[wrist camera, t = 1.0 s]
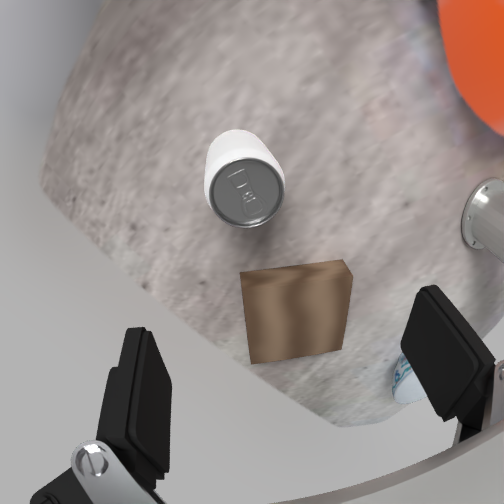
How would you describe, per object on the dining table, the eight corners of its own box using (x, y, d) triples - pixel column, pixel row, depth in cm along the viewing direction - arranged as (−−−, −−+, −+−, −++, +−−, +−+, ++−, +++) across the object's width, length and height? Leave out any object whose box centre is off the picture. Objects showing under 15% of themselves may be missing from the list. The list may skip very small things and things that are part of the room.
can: (224, 194, 35) (228, 246, 25) (196, 146, 32) (186, 178, 22) (275, 169, 34) (302, 210, 24) (250, 118, 31) (268, 136, 21)
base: (342, 259, 42) (353, 276, 38) (333, 331, 49) (341, 349, 45) (239, 272, 41) (242, 291, 37) (248, 345, 48) (251, 364, 45)
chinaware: (437, 359, 59) (452, 383, 53) (380, 385, 61) (392, 412, 54) (445, 316, 52) (464, 342, 45) (379, 346, 53) (395, 377, 46)
